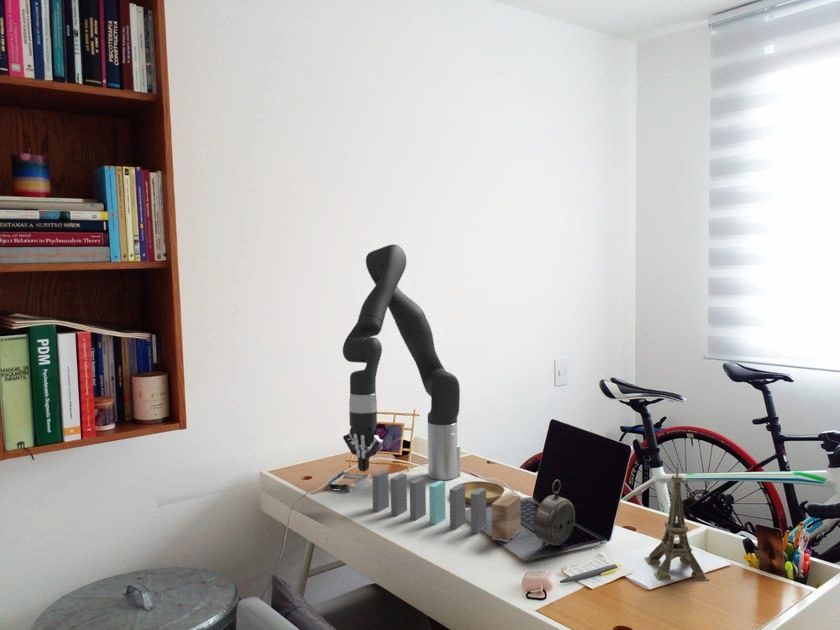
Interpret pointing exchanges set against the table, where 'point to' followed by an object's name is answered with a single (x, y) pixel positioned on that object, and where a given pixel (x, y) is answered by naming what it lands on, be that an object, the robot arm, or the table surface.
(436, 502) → the domino
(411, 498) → the domino
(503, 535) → the end block
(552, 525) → the alarm clock
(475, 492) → the domino
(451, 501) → the domino
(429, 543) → the table surface
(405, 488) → the domino
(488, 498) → the plant saucer
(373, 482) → the domino
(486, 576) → the table surface
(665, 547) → the eiffel tower
